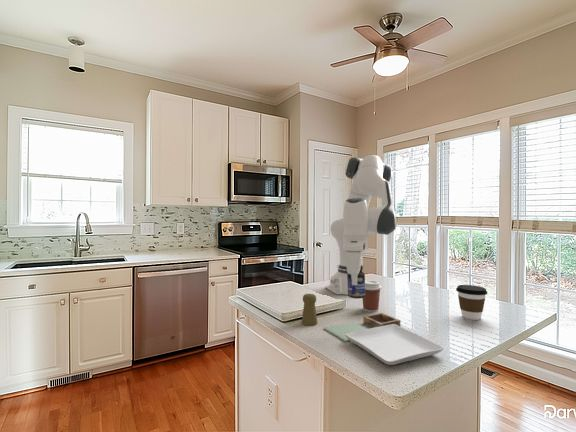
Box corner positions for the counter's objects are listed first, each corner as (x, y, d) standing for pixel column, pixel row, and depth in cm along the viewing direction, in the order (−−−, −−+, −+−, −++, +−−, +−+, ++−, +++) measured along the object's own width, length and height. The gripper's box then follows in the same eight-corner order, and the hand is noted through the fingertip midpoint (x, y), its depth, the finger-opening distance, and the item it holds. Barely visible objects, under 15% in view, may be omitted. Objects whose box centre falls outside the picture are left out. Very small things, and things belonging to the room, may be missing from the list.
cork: (308, 319, 123) (308, 291, 123) (320, 323, 119) (320, 294, 118) (298, 323, 119) (298, 294, 118) (310, 327, 114) (310, 297, 114)
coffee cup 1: (373, 314, 128) (373, 285, 128) (355, 309, 135) (355, 281, 135) (385, 309, 134) (385, 282, 134) (367, 305, 141) (367, 278, 141)
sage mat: (323, 328, 113) (323, 327, 113) (352, 323, 118) (352, 321, 118) (345, 342, 101) (345, 340, 101) (376, 335, 107) (376, 333, 107)
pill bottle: (357, 299, 106) (356, 267, 106) (344, 296, 111) (343, 265, 111) (369, 296, 110) (368, 265, 110) (355, 293, 115) (354, 263, 115)
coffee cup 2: (452, 317, 124) (452, 287, 124) (459, 311, 132) (460, 283, 132) (484, 324, 117) (484, 292, 117) (490, 317, 125) (490, 287, 125)
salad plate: (388, 373, 82) (388, 360, 82) (343, 342, 101) (343, 332, 101) (446, 358, 90) (446, 347, 90) (394, 332, 110) (394, 323, 110)
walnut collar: (363, 322, 118) (363, 316, 118) (382, 319, 123) (382, 312, 123) (381, 331, 110) (381, 324, 110) (400, 326, 114) (400, 320, 114)
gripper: (350, 240, 121) (350, 276, 121) (342, 246, 102) (343, 288, 102) (366, 241, 119) (366, 277, 119) (362, 246, 100) (362, 289, 100)
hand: (355, 282), depth 110 cm, fingers closed on pill bottle, 6 cm apart
